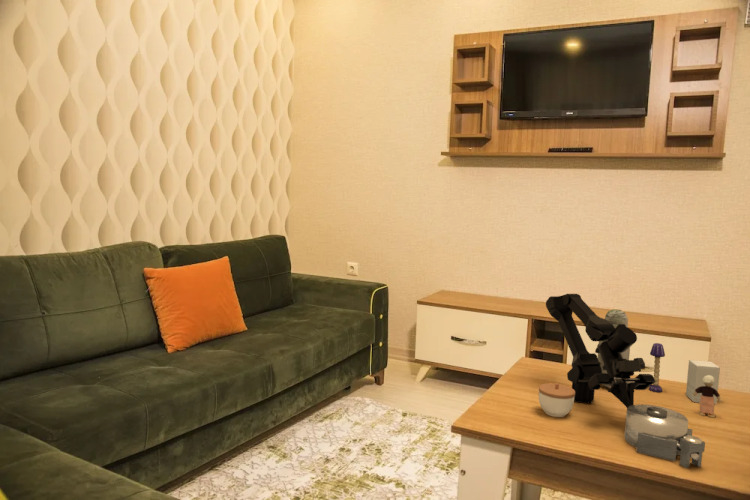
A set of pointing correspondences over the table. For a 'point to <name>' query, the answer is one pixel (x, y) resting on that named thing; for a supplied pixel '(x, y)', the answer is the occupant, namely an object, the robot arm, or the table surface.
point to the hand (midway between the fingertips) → (631, 409)
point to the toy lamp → (656, 365)
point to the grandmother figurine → (707, 396)
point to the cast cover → (654, 423)
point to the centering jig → (672, 448)
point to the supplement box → (701, 377)
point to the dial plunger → (692, 455)
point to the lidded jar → (556, 399)
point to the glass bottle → (615, 319)
